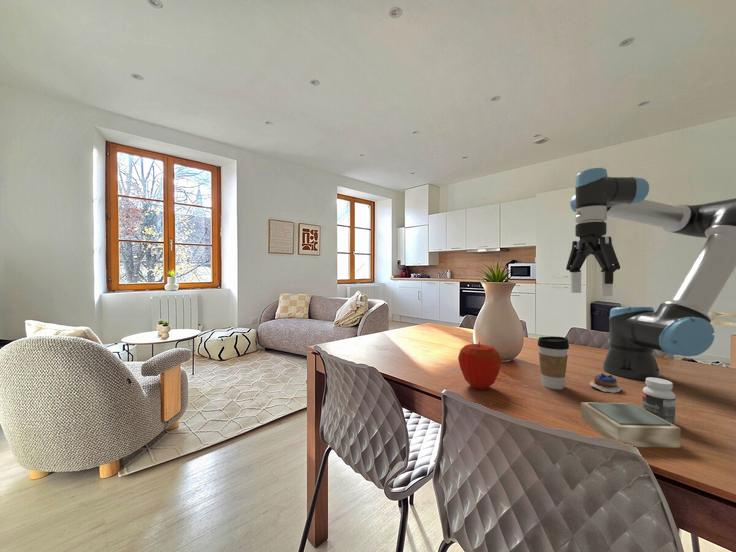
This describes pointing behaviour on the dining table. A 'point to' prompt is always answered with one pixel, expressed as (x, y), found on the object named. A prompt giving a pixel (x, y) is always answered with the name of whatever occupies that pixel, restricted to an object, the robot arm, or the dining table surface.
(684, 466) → the dining table surface
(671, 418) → the pill bottle
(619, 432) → the tray
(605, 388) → the dessert
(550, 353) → the coffee cup
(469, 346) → the apple
